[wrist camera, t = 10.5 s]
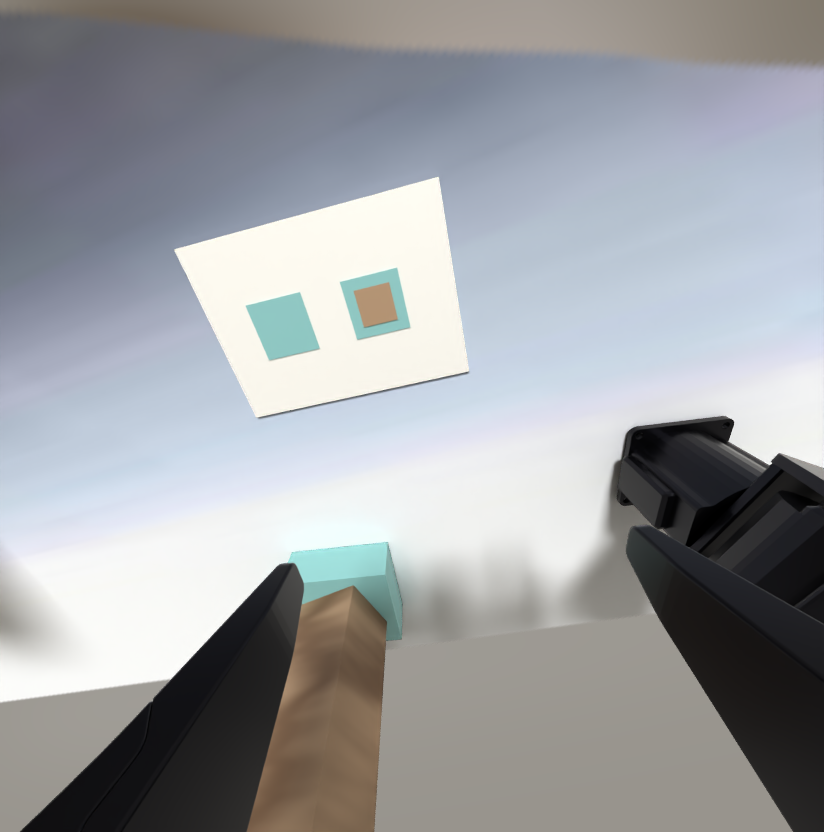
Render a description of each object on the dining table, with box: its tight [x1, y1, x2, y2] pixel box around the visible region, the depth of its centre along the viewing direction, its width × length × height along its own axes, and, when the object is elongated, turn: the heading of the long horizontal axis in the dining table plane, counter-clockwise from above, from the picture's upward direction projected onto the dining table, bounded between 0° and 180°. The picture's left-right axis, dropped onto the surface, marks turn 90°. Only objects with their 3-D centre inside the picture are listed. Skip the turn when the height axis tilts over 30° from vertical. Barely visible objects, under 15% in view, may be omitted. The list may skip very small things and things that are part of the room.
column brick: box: [247, 585, 387, 832], centre depth 20 cm, size 5×5×12 cm
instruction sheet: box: [174, 177, 469, 418], centre depth 18 cm, size 14×10×1 cm
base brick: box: [288, 542, 402, 641], centre depth 27 cm, size 8×8×3 cm
